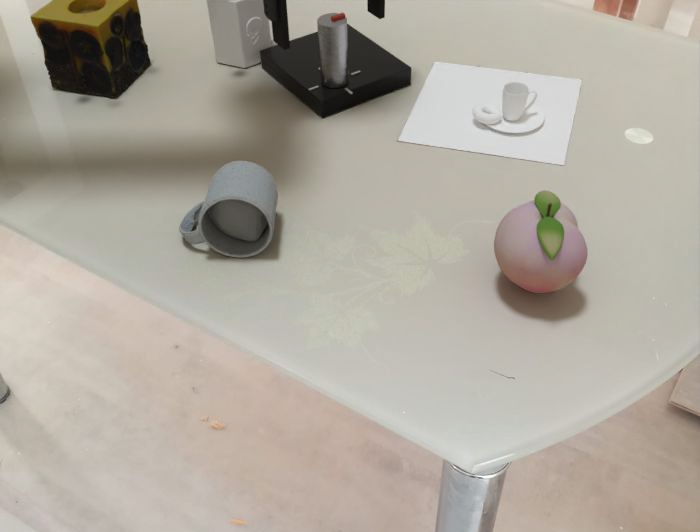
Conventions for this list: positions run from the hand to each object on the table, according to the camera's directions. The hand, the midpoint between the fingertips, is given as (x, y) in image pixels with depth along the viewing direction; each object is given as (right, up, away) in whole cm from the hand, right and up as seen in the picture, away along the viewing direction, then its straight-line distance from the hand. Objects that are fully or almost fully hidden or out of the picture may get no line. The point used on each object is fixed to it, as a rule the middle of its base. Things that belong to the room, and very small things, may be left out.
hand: (330, 29), depth 94 cm
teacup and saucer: (+21, -9, +4) cm, 23 cm away
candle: (-32, -1, +13) cm, 34 cm away
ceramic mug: (-10, -27, -11) cm, 31 cm away
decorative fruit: (+20, -33, -17) cm, 42 cm away
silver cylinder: (0, -5, +5) cm, 7 cm away
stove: (0, -2, +11) cm, 11 cm away
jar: (-13, +3, +16) cm, 21 cm away
